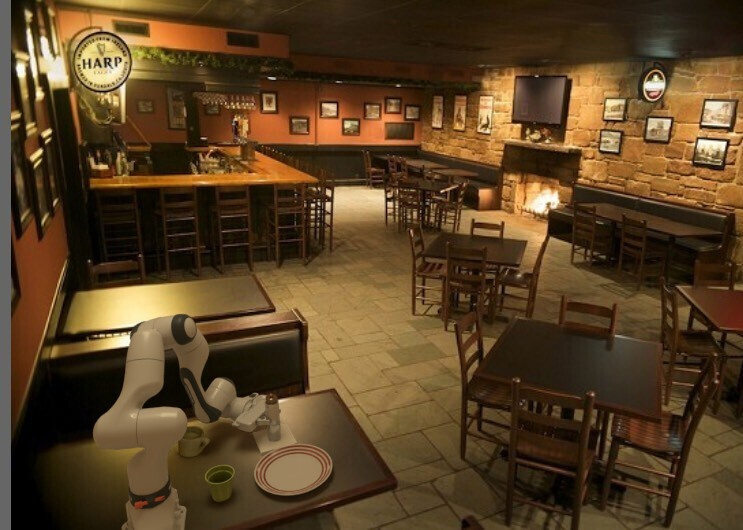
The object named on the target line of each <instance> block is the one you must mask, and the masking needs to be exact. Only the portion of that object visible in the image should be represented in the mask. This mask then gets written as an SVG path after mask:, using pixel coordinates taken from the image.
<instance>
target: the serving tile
mask: <svg viewBox="0 0 743 530" xmlns="http://www.w3.org/2000/svg"><path fill="white" fill-rule="evenodd" d="M280 428H281V439H280V440H278V441H276V442H271V441H269V440H268V437H267V428H265V429H261V430H257V431H252V437H253V439H254V442H255V443H256V446H257V448H258V451H259V453H260V456H265V455H266V454H268V453H269V452H271V451H273V450H275V449H277V448H280V447H283V446H287V445H292V444H298V442H297V440H296V438H295V436H294V435H293V432H292V431H291V429H290V427H289V425H288V424H287V423H284V424H280Z"/></svg>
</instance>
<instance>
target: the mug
mask: <svg viewBox="0 0 743 530" xmlns="http://www.w3.org/2000/svg"><path fill="white" fill-rule="evenodd" d="M204 432H205V431H204V429H203V428H202V427H200V426H199V425H198V426H197V425H189V426H188V425H187V430H186V432H185V434H184V436H183V437H182V439H181V440H179V441H178V442H177V444H178V445H177V447H178V453H179V455H180V456H182V457H184V458H192V457H196V456H198V455H200V454H201V453H202V452H203V450H204V448H205V447H206V446H207V445H208V444H209V443H210V442H211V441H210V439H209V437H207V436H205V433H204Z"/></svg>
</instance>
